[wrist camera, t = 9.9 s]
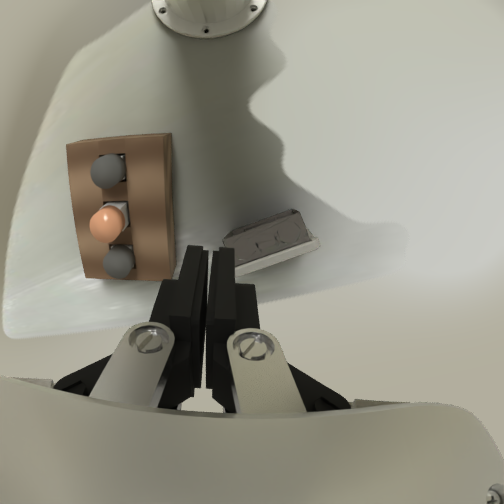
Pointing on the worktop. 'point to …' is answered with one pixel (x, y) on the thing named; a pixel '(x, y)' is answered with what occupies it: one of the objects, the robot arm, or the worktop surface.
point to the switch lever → (108, 170)
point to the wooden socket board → (138, 196)
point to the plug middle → (110, 221)
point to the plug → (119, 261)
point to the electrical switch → (270, 242)
